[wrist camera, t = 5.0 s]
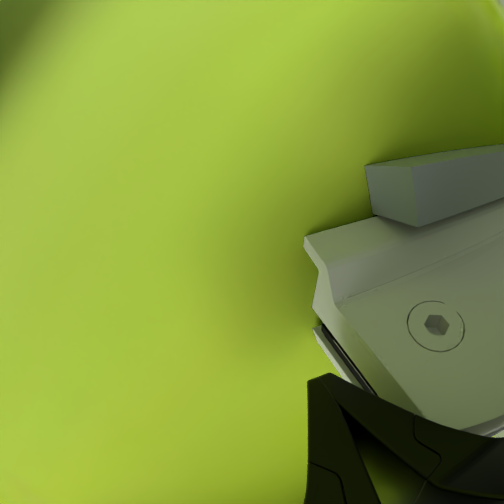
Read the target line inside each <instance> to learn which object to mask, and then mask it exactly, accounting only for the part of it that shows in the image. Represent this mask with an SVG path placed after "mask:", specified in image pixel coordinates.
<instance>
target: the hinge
mask: <svg viewBox="0 0 504 504" xmlns="http://www.w3.org/2000/svg"><path fill="white" fill-rule="evenodd" d="M303 247H304V249H305V250H306V252H307V253H308V255H309V256H310V258H311V259H312V261H313V262H314V264H315V265H316V267H317V268H318V270H319V274H318V279H317V284H316V289H315V294H314V299H313V304H312V308H313V310H314V311H315V312H316V314H317V315H318V316H319V318H320V319H321V320H322V321H323V324H322V325H320V326H317V327H314V328H312V329H313V332H314V334H315V337H316V340H317V342H318V344H319V345H320V346H321V348H322V349H323V351H324V352H325V354H326V355H327V356H328V358H329V359H330V361H331V362H332V364H333V365H334V366H335V368H336V369H337V371H338V372H339V373H340V375H341V376H342V378H343V379H344V380H346V381H348V382H350V383H352V384H354V385H356V386H358V387H360V388H362V389H364V390H366V391H368V392H370V393H372V394H374V395H376V396H378V397H380V398H382V399H384V400H386V401H388V402H390V403H393V404H395V405H397V406H399V407H401V408H403V409H405V410H408V411H410V412H412V413H414V415H415V414H417V415H419V416H421V417H423V418H426V419H428V420H431V421H433V422H436V423H438V424H441V425H444V426H448V427H451V428H454V429H458V430H462V431H466V432H470V433H474V434H478V435H482V436H486V437H492V436H494V435H496V434H498V433H499V432H501V431H503V430H504V197H503V198H500V199H497V200H495V201H492V202H489V203H486V204H484V205H481V206H478V207H475V208H472V209H470V210H467V211H464V212H461V213H458V214H456V215H453V216H450V217H447V218H444V219H441V220H438V221H435V222H433V223H430V224H427V225H424V226H421V227H415V226H412V225H409V224H405V223H402V222H399V221H396V220H393V219H389V218H386V217H383V216H376V217H372V218H368V219H365V220H361V221H358V222H354V223H350V224H347V225H343V226H339V227H336V228H332V229H329V230H325V231H321V232H318V233H314V234H311V235H307V236H305V238H304V245H303Z"/></svg>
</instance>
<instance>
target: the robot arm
mask: <svg viewBox="0 0 504 504" xmlns="http://www.w3.org/2000/svg"><path fill="white" fill-rule="evenodd" d="M307 398H308V464H307V485H306V493H305V499H304V504H504V437H502V438H494V437H486V436H482V435H478V434H474V433H470V432H466V431H462V430H458V429H454V428H451V427H448V426H444V425H441V424H438V423H436V422H433V421H431V420H428V419H426V418H423V417H421V416H419V415H417V414H415V415H414V413H412V412H410V411H408V410H405V409H403V408H401V407H399V406H397V405H395V404H393V403H390V402H388V401H386V400H384V399H382V398H380V397H378V396H376V395H374V394H372V393H370V392H368V391H366V390H364V389H362V388H360V387H358V386H356V385H354V384H352V383H350V382H348V381H346V380H344V379H342V378H340V377H338V376H336V375H334V374H332V373H326V374H324V375H321V376H319V377H316V378H313V379H310V380H308V381H307Z"/></svg>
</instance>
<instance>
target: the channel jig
mask: <svg viewBox="0 0 504 504" xmlns="http://www.w3.org/2000/svg"><path fill="white" fill-rule="evenodd" d="M365 171H366V177H367V183H368V188H369V195H370V201H371V208H372V214H376V215H379V216H383V217H386V218H389V219H393V220H396V221H399V222H402V223H405V224H409V225H412V226H415V227H421V226H424V225H427V224H430V223H433V222H435V221H438V220H441V219H444V218H447V217H450V216H453V215H456V214H458V213H461V212H464V211H467V210H470V209H472V208H475V207H478V206H481V205H484V204H486V203H489V202H492V201H495V200H497V199H500V198H503V197H504V144H499V145H490V146H482V147H474V148H466V149H459V150H452V151H445V152H439V153H432V154H426V155H420V156H414V157H408V158H403V159H397V160H391V161H386V162H381V163H375V164H370V165H365Z"/></svg>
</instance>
